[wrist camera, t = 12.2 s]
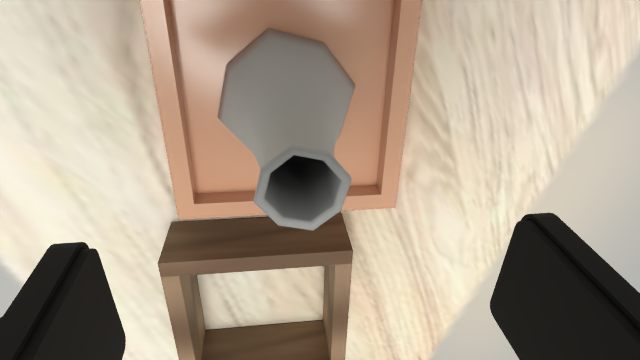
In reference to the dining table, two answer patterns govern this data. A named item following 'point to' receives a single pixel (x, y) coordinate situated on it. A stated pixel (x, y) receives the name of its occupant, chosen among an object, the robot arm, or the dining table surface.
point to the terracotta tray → (231, 39)
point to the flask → (290, 124)
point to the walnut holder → (250, 255)
